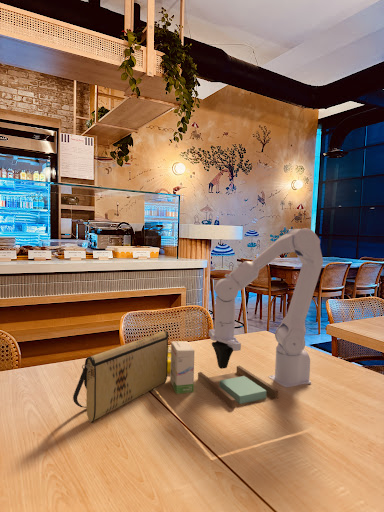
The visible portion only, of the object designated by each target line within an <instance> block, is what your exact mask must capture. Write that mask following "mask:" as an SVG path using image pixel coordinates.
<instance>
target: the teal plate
mask: <svg viewBox="0 0 384 512" xmlns="http://www.w3.org/2000/svg"><path fill="white" fill-rule="evenodd" d="M219 387H220V388H222V389H223V390H224V391H225V392H227V393H228V394H229V395H230V396H232V397H233V398H234V399H235V401H236V402H238V403H239V404H243V403H248V402H252V401H257V400H261V399H266V392H267V391H266V390H265V389H263V388H262V387H260V386H259V385H257V384H256V383H254V382H253V381H251V380H250V379H248V378H247V377H245V376H241V377H236V378H230V379H225V380H220V384H219Z"/></svg>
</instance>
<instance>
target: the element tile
mask: <svg viewBox="0 0 384 512" xmlns="http://www.w3.org/2000/svg"><path fill="white" fill-rule="evenodd" d="M170 373H171V345H168V366H167V374H170Z"/></svg>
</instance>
